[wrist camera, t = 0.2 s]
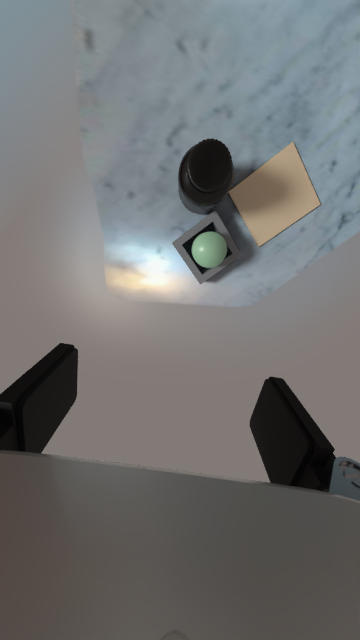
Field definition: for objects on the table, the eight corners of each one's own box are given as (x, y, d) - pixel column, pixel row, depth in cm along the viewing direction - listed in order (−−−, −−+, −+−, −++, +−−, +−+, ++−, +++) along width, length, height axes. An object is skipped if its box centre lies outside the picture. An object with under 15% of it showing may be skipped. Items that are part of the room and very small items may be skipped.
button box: (212, 212, 36) (215, 209, 33) (237, 254, 38) (242, 255, 35) (172, 242, 37) (172, 242, 34) (198, 281, 39) (200, 284, 37)
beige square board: (292, 142, 32) (293, 141, 32) (319, 204, 35) (320, 204, 35) (227, 192, 35) (228, 191, 34) (258, 246, 37) (259, 246, 37)
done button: (212, 225, 34) (215, 224, 31) (228, 253, 35) (233, 254, 32) (185, 245, 35) (185, 245, 32) (202, 271, 36) (204, 274, 33)
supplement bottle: (229, 200, 35) (251, 183, 24) (190, 222, 36) (194, 214, 25) (211, 154, 33) (227, 111, 22) (171, 178, 34) (166, 149, 23)
